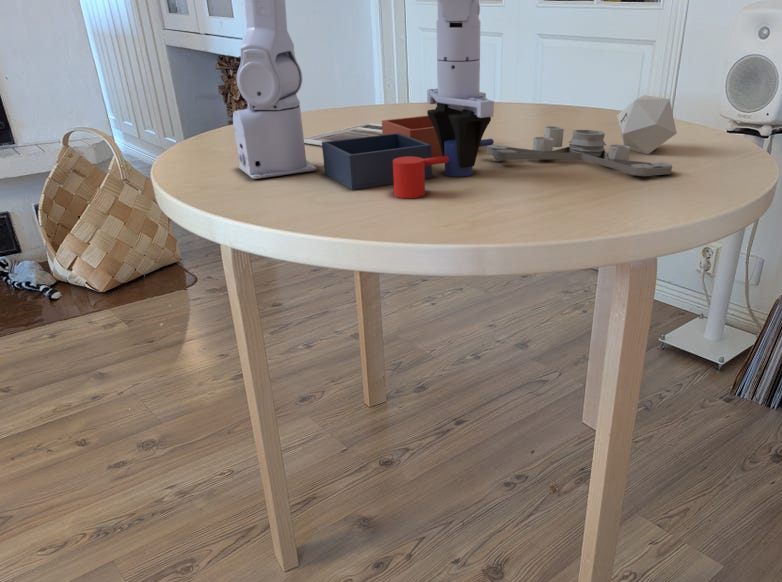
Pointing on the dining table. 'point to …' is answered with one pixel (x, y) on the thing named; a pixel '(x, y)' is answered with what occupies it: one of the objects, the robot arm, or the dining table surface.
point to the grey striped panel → (346, 133)
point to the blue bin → (370, 159)
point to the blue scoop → (451, 153)
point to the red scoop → (412, 175)
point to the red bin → (414, 130)
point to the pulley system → (580, 152)
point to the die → (646, 123)
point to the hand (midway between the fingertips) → (458, 163)
